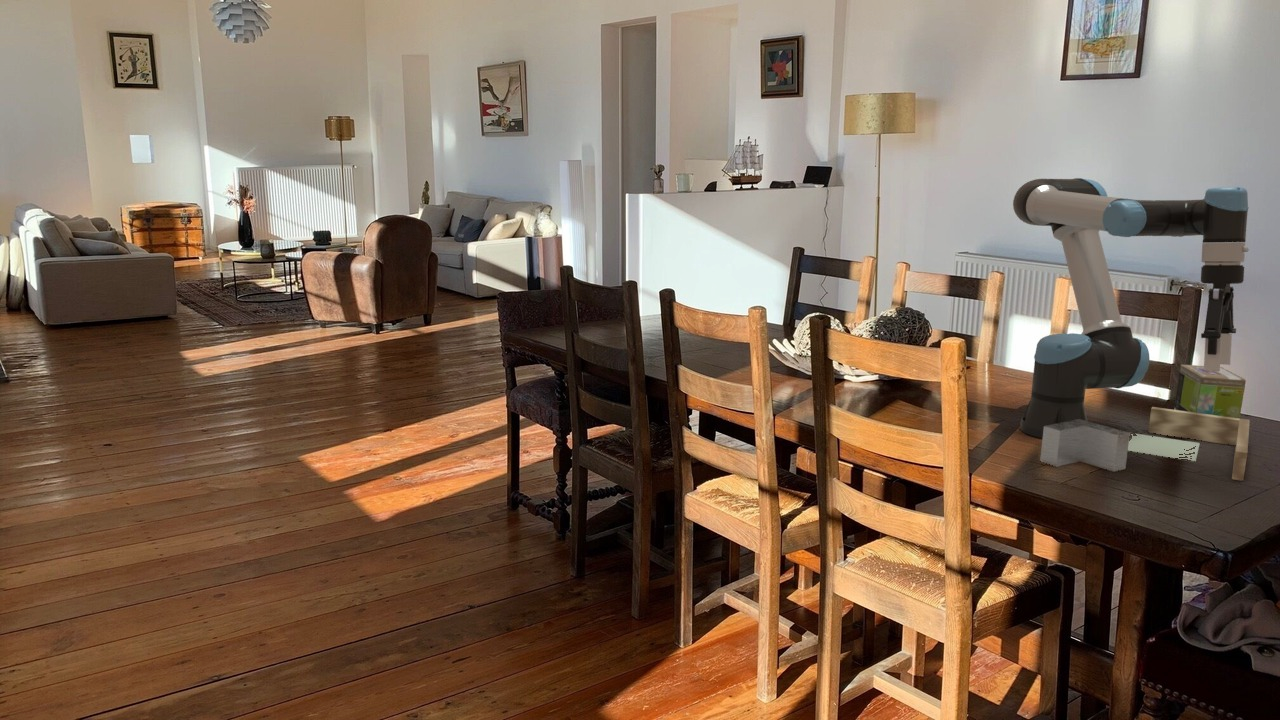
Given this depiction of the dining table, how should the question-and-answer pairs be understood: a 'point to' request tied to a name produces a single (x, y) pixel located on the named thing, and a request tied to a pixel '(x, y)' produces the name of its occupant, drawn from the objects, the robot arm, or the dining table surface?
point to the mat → (1163, 446)
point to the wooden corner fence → (1205, 431)
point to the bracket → (1084, 445)
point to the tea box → (1209, 391)
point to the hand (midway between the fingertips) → (1217, 367)
